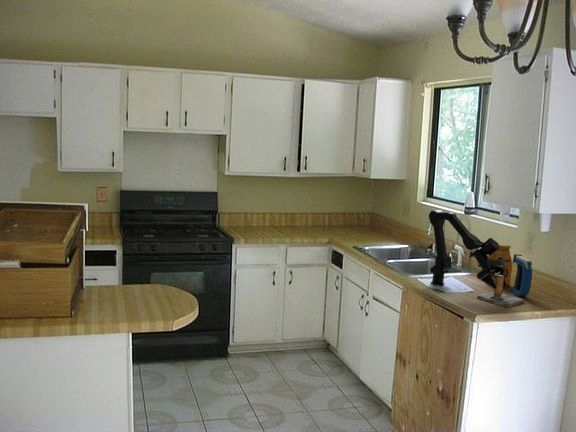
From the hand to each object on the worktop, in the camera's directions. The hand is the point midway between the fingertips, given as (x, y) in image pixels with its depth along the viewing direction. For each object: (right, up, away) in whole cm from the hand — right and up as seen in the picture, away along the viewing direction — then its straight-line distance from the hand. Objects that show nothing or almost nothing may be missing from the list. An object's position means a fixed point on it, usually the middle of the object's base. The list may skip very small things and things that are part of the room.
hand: (500, 287), depth 285 cm
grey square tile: (+1, -7, +4) cm, 8 cm away
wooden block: (-1, -7, +2) cm, 8 cm away
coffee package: (+12, -3, +38) cm, 40 cm away
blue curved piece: (+16, -6, +20) cm, 26 cm away
